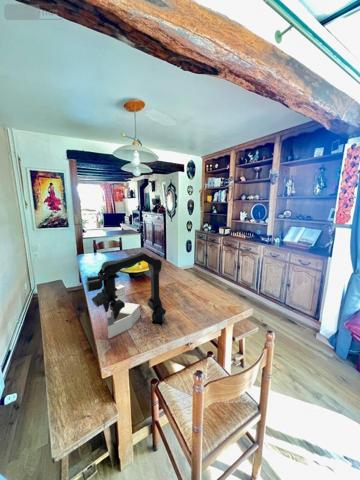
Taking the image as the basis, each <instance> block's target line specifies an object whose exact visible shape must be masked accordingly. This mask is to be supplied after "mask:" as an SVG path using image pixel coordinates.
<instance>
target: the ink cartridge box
mask: <svg viewBox="0 0 360 480" xmlns="http://www.w3.org/2000/svg"><path fill="white" fill-rule="evenodd" d="M115 286H116V288H117V291H116V296H118V298H116V299H115V300H116V301H117V300H121V301H123V302H125V303H126V286H125V285H123V284H122V281H121V280H119V281H115Z"/></svg>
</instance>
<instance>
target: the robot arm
mask: <svg viewBox="0 0 360 480" xmlns="http://www.w3.org/2000/svg"><path fill="white" fill-rule="evenodd" d="M141 262H145V263H147V266H148V270H149V273H150V298H148V299H147V306H148V307H149V309H150V310H151V311H152V314H151V324H155V325H160V326H162V325H163V323H164V322H165V321H166V318H165V315H166V312H167V310H166V309H165V308H164V307H163V303H162V301H161V297H160V273H161V270H162V266H163V262H162V260H160V259H159V258H157V257H155V256H150V255H148V254H147V253H145V252H139V253H136V254H134V255H130V256H128V257H125V258H122V259H118V260H107V261H104V262H103V263H102V265H101V267H100V269H99V271H98V272H97V275H94V276H88V277H86V282H85V287H86V291H87V293H90V292H94V291H95V292H96V291H98V290H100V292H98V293H97V294H96V295H95V296H93V297H92V298H91V302H92V303H93V305H95V307H97V308H99V307H100V306H103V307H102V308H103V309H104V311H105V313H108V312H109V310H111V311H113V316H114V319H117V317H118V315H119V312H120V311H121V309H122V308H124V307H125V303H126V302H125V303H124V302H123V301H121V300H117V301H116V300H115V299H116V298H118V296H116V291H117V288H116V286H115V285H116V284H115V283H116V279H119V278H120V275H119V274H118V273H119V272H120V271H121V270H122V269H124V268H128V267H130V266H133V265H135V264H136V265H137V264H139V263H141Z"/></svg>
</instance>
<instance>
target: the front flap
mask: <svg viewBox="0 0 360 480" xmlns="http://www.w3.org/2000/svg"><path fill="white" fill-rule="evenodd" d="M132 327H133V326H132V315H129V316H127V317H125V318H123V319H121V320H118V321H116V322H114V316H112V317H110V316H109V317H107V334H108V336H107V337H108V339H111V338H113V337H115V336H117V335H119V334H122V333H123V332H126V331H127V330H129V329H132Z"/></svg>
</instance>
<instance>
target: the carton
mask: <svg viewBox="0 0 360 480" xmlns="http://www.w3.org/2000/svg"><path fill="white" fill-rule="evenodd" d="M124 303H125V307H124V308H122V309H121V311H120V312H119V315H118V317H117V319H114V322H116V321H118V320H121V319H123V318H125V317H127V316H129V315H132V327H133V326H134V324H135V323H136V322H137V321H138V319H140V317H141V307H140V306H141V305H140V304H139V303H138V304H137V303H131V302H126V301H125V302H124ZM108 312H109V317H112V316H113V311H111V310H110V309H108Z"/></svg>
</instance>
